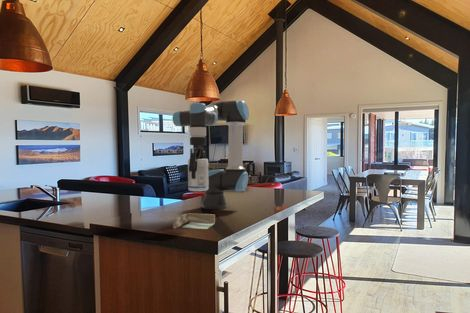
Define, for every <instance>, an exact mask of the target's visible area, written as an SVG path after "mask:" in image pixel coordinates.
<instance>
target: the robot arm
mask: <svg viewBox="0 0 470 313" xmlns="http://www.w3.org/2000/svg"><path fill="white" fill-rule="evenodd" d="M249 117H250V111H249V107H248V105H247V103H246V101H244V100H239V99H238V100H227V101H217V102H214V103H211V104H207V105H206V103H203V102H193V103H191V104H190V105H189V110H184V111H175V112H174V113H173V114H172V118H171V119H172V123H173V125H174V126H176V127H180V128H181V127H189V131H188V132H189V136H190V137H189V145H190V146H192V148H190V150H189V159H190V163H189V171H191V186H197V172H196V170H197V161H196V159H207V157H206V148H204V147H203V146H206V145H207V137H206V136H207V127H212V126H215V125H216V124H217V122H218V121H219V122H220V121H221V122H222V121H223V122H224V121H225V124H226V125H227V126H228V153H227V156H228V159H227V161H228V162H227V164H228V165H227V166H226V168H225V170H224V168H222V169H212V170H208V181H209V188H208V190H206V191H204V198H203V200H202V203H201V208H202V209H205V210H224V209H226V208H228V206H227V205H228V204H227V201H226V196H225V192H226V191H227V192H244V191H245V190H246V189H247V188H248V187H247V186H248V183H249V173H248V172H247V171H246V168H245V167H244V165H243V159H244V158H243V152H244V151H243V150H244V148H243V145H244V144H243V143H244V140H243V139H244V128H243V127H244V126H245V125H246V121H248V120H249Z"/></svg>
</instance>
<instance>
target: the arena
mask: <svg viewBox="0 0 470 313" xmlns="http://www.w3.org/2000/svg"><path fill="white" fill-rule="evenodd" d="M186 223H187V224H186ZM215 224H216V214H215V213H214V214H212V213H211V214H210V213H191V212H185V213H183V214H181V215H179V216H177V217H176V218H173V219H172V229H177V228H179V227H181V226H182V227H181V228H182V229H192V230H193V229H194V230H208V229H210V228H211V227H213V226H214V225H215Z"/></svg>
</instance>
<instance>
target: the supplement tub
mask: <svg viewBox="0 0 470 313" xmlns="http://www.w3.org/2000/svg"><path fill="white" fill-rule="evenodd" d="M196 161H197V170H196V172H197V186H191V171H189V163H190V158H188V159H187V180H188V181H187V185H188V186H187V187H188V188H187V189H188V191H190V192H205V191H206V190H208V188H209V181H208V171H209V159H208V158H206V159H196Z"/></svg>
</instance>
